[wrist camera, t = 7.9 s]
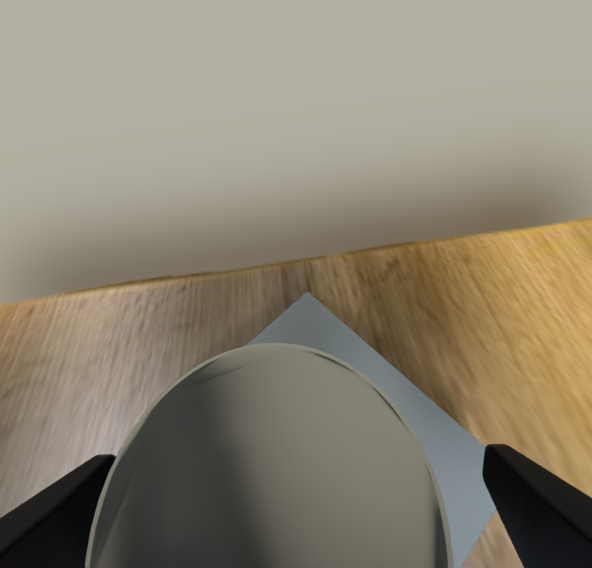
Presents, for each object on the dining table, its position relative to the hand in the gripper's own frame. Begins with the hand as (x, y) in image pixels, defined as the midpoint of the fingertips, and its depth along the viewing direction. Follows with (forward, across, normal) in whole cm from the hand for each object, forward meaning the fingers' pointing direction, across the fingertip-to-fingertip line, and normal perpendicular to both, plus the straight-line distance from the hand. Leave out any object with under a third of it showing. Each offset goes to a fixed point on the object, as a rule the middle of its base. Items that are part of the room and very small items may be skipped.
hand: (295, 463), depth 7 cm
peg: (+6, 0, +6) cm, 8 cm away
